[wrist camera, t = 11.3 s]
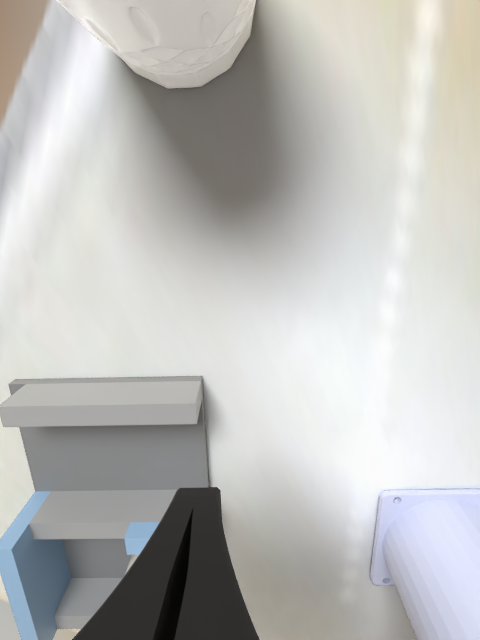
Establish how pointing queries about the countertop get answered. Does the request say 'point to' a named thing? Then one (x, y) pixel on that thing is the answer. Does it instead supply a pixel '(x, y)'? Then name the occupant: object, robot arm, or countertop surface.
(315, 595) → the countertop surface
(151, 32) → the white cup
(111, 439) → the grey and blue rack
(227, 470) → the countertop surface
